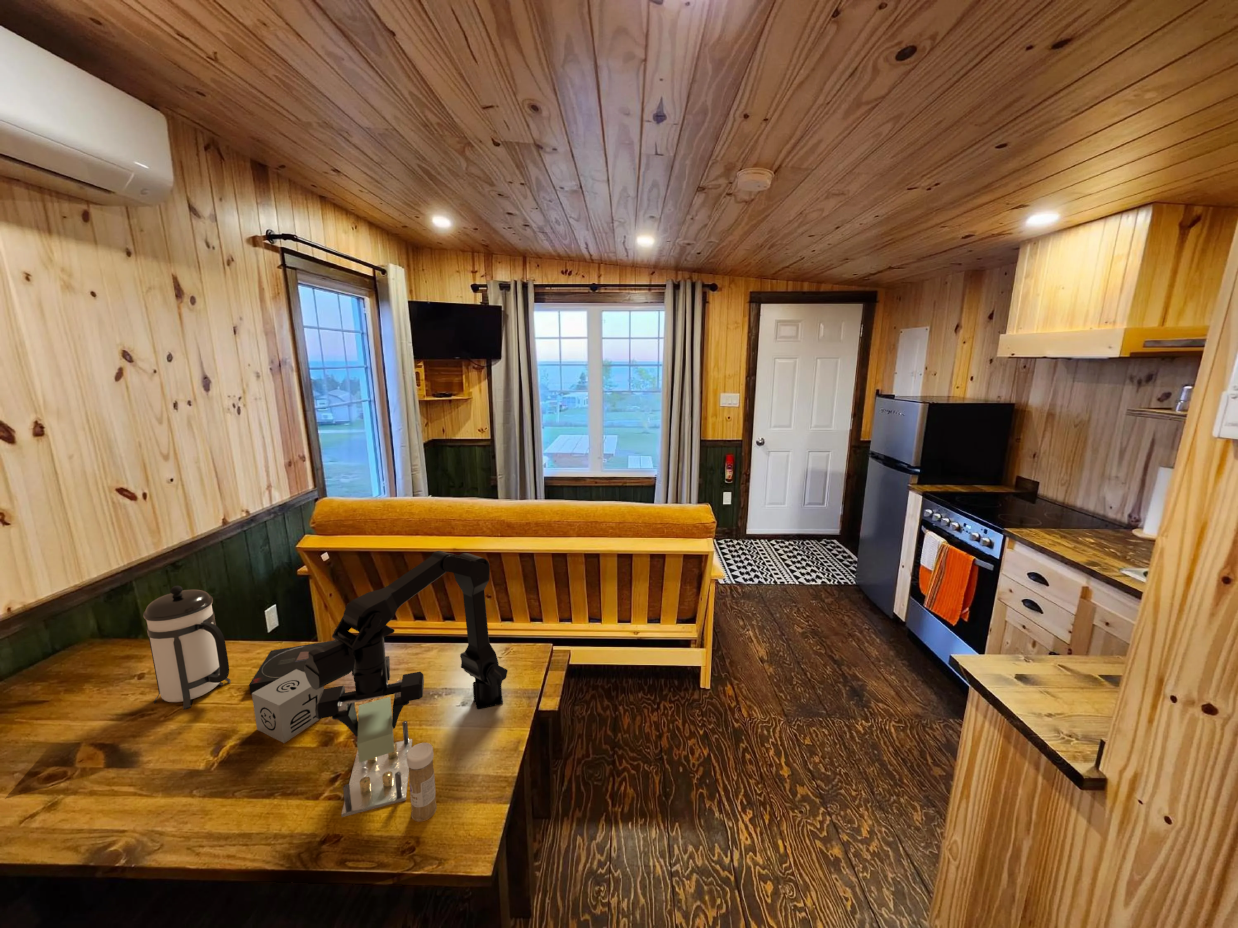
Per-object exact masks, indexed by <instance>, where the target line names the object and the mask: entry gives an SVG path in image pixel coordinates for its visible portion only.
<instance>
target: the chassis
mask: <svg viewBox="0 0 1238 928" xmlns="http://www.w3.org/2000/svg"><path fill="white" fill-rule="evenodd" d="M408 724H409V723H408V721H407V720H404V721H403V722H402V735H403V740H400V741H396V742H394V752H391V753H388V754H385V755H382V756H378V757H375V758H372V759H369V760H366V761H363V762H360V763H359V756H358V750H357V751H356V755H355V759H354V762H353V767H352V771H351V776H350V779H349V783H347V784H344V786H343V787H342V789H343V797H344V802H343V806H342V810H341V818H343V817H348V816H352V815H356V814H359V813H362V812H367V811H370V810H371V811H372V810H373V809H377V808H382V807H386V806H389V805H393V804H398V803H402V802H405V801H406V800H407V793H408V792H407V791H408V786H409V785H408V784H409V767H408V765H407V753H408V751H409V750H410V749H411V748H412V747H413V738H410V739H409V727H408Z"/></svg>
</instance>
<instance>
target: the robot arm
mask: <svg viewBox="0 0 1238 928" xmlns="http://www.w3.org/2000/svg"><path fill="white" fill-rule="evenodd" d="M490 570H491V565H490V562H489V560H487V559H486V558H484V557H481V556H478V555H475V554H471V553H467V552H463V553H461V554H459V555H458V554H454V553H449V552H445V551H443V550H436V551H434V552H432V553H431V554H430V556H429V557H428V558H426V559H424V560H423V561H422V562H421V563H419V564H417V565H416V566H415V567H413V568H412V569H409V571H407V572H406V573H404V574H403V575H401V576H400V577H399V578H397V579H395V580H394V581H392V582H391V583H389V584H388V585H386V586H384V587H383V588H381V589H376V590H372V591H368V592H366V593H364V594H362V595H360V596H358V597H356V598H353V599H352V600H351V601H349V602H348V603H347V605H346V606H345V609H344V611H343V616H342V618H341V619H340V621H339V622H338V624H337V627H336V628H335V630H334V632H333V633H332V635H331V638H332V639H333V640H336V642H333V643H331V644H329V645H326V646H324V647H321V648H317V649H314V650H312V651H310V652H309V653H308V655H309V658H308V659H307V660H306V663H305V666H304V670H305V674H306V677H307V680H308V682H309V684H310V685H311V687H312V688H313V689H315V690H317V689H319V688H321V687H323V686H324V687H325V686H327V685H329V684H331V683H333V682H335V681H337V680H340V679H341V678H343V677H345V676H347V675H350V674H351V675H352V676H353V682H354V687H355V690H353V691H352V690H351V691H347V692H346V686H344V685H337V686H333V687H328V688H324V690H323V691H322V692H321V694H320V696H319V699H318V701H317V704H316V707H315V713H316V718H317V719H319V720H322V719H325V718H331V720H338V721H339V722H341V723H342V724H343V725H345V726H346V727H347V729H348V730H350V731H351V733H352V734H354V736H355V737H356V738H358V716H357V715H358V713H357V712H356V704H355V703H359V702H363V701H369V700H373V699H379V698H380V699H381V698H383V697H384V698H385V697H386V696H390V695H393V696H394V698H393V702H392V703H393V704H392V726H393V730H394V729H396V727H397V723H398V721H399V720H398V719H399V717H400V714H401V712H402V710H403V707H404V706H407V705H408V704H410V702H412V701H415V700H420V699H421V698H423V697H424V684H425V676H424V675H425V674H424V673H423V672H421V671H415V672H410V673H404V674H402V678H401V679H399V680H397V681H396V682H393V683H389V681H390V679H391V669H390V668H391V666H390V665H391V662H390V659H391V658H390V655H389V656H386V648H385V637H387V636H389V635H392V634H394V633H395V629H394V628H392V627H390V626H389V625H387V624H388V623H389V622H391V620H392V619H393V618H394V617H395V615H396V613H397V611H398V609H399V608H401V606H403V604H405V603H406V602H408V601H409V600H411V598H413V597H414V596H415V595H417V594H419V593H420V592H421V591H423V590H424V589H426V588H427V587H428V586H430V585H431V584H432V583H433V582H435V581H437V580H438V579H439V578H441V577H442V576H443V575H444V574H446V573H452V574H453V576H454V579H455V582H456V583H457V585H458V587H459V589H460V590H461V592H462V596H463V605H464V614H465V615H464V616H465V624H466V634H467V647H466V649H465V651H464V652H461V653H460V654H459V656H460V660H461V664H460V668H461V669H463V671H464V672H465V673H467V674H469V676H470V677H472V678H474V680H475V681H473V683H472V690H473V691H472V693H473V702H474V703H475V708H476V710H480V709H485V708H489V707H493V706H494V707H495V706H498V705H503V704H504V699H503V691H502V690H503V689H502V685H503V681H504V680H506V678H507V677H508V669H506V668H504V667H502V666H501V665H499V659H498V657H497V653H496V651H495V650H494V649H495V648H493V646H492V644H491V643H490V639H489V625H488V616H487V615H488V614H487V606H486V594H485V590H486V587H487V585H488V583H489V582H490V575H491V574H490V573H491V571H490ZM351 629H353V630H355V631H356V632H358V634H357V635H356V634H354V633H352V632H350V630H351Z"/></svg>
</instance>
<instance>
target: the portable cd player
mask: <svg viewBox="0 0 1238 928" xmlns="http://www.w3.org/2000/svg"><path fill="white" fill-rule="evenodd" d="M333 642H336V640H335V639H333V640H329V641H322V642H315V643H309V644H303V645H298V646H297V645H295V646H290V647H284V648H278V649H273V650H270V651H269V652H268V655H267V656H266V657H265V659H264V660H263V662H262V664H261V665H260V667H259V669H257V672H256V673H255V675H254V676H253V678H252V679H251V681H250V682H249V683H248V688H249V693H250V695H251V696H252V693H253V692H255V691H257V690H259V689H261V688H262V687H264V686H266V685H268V684H270V683H272V682H274V681H275V680H277V679H279V678H281V677H283V676H285V675H286V674H288V673H290V672H292V671H294V670H296V669H297V670H300V671H302V672H305V670H304V666H305V663H306V660H307V659H308V658H309V655H308V653H309V652H310V651H312V650H314V649H317V648H321V647H324V646H326V645H329V644H331V643H333Z"/></svg>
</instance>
